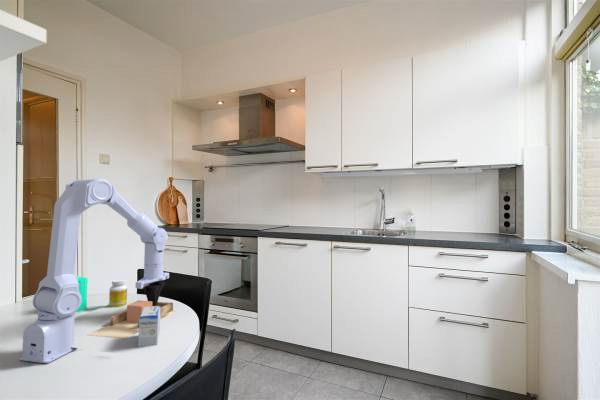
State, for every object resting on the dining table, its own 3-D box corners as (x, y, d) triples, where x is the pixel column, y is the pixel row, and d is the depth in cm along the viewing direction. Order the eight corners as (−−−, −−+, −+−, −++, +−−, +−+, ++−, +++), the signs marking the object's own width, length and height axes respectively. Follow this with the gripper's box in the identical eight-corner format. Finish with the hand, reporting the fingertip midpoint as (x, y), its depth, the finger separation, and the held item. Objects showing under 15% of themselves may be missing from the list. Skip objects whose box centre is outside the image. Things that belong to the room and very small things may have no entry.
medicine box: (141, 338, 84) (142, 306, 85) (159, 336, 86) (160, 305, 86) (137, 351, 77) (138, 316, 77) (157, 349, 79) (158, 314, 79)
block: (141, 323, 93) (141, 306, 93) (126, 321, 93) (127, 305, 94) (151, 317, 98) (152, 301, 98) (137, 316, 98) (138, 300, 98)
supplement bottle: (107, 307, 110) (108, 279, 110) (124, 304, 113) (125, 277, 113) (110, 311, 105) (111, 282, 106) (127, 308, 109) (128, 280, 109)
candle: (67, 308, 108) (68, 273, 108) (88, 305, 110) (89, 272, 111) (63, 313, 102) (64, 277, 103) (84, 311, 105) (85, 275, 105)
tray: (125, 342, 82) (126, 329, 82) (86, 338, 84) (87, 325, 84) (175, 313, 104) (175, 303, 104) (143, 310, 106) (144, 300, 106)
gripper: (150, 268, 94) (149, 313, 94) (177, 260, 108) (176, 299, 108) (129, 267, 95) (128, 311, 95) (159, 259, 110) (158, 298, 109)
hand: (152, 305), depth 102 cm, fingers closed
